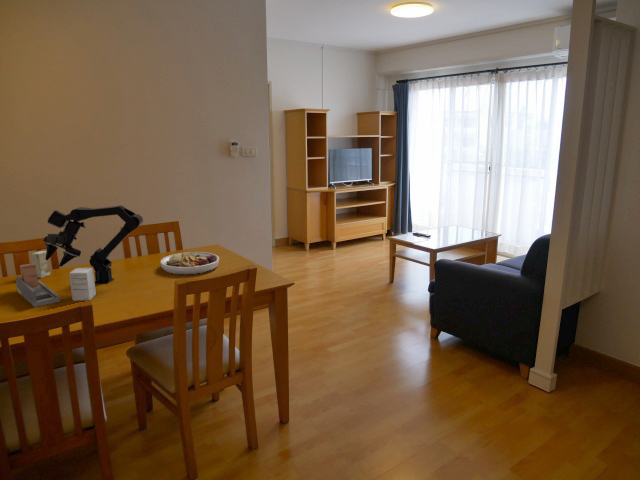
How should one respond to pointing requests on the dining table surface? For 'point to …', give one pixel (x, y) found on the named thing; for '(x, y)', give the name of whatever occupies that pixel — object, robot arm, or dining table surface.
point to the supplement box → (82, 284)
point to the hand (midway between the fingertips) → (53, 263)
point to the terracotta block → (29, 275)
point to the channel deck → (37, 293)
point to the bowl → (189, 262)
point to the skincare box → (41, 264)
